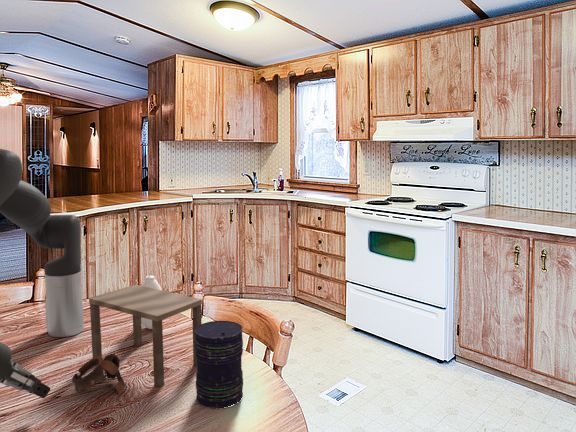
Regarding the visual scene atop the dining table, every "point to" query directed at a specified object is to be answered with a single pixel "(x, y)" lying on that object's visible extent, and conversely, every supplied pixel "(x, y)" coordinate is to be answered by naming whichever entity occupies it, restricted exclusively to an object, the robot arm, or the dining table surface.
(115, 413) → the dining table surface
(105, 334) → the dining table surface
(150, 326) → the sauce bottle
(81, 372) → the pottery mug
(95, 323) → the wooden side table
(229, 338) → the dark blue cylinder
